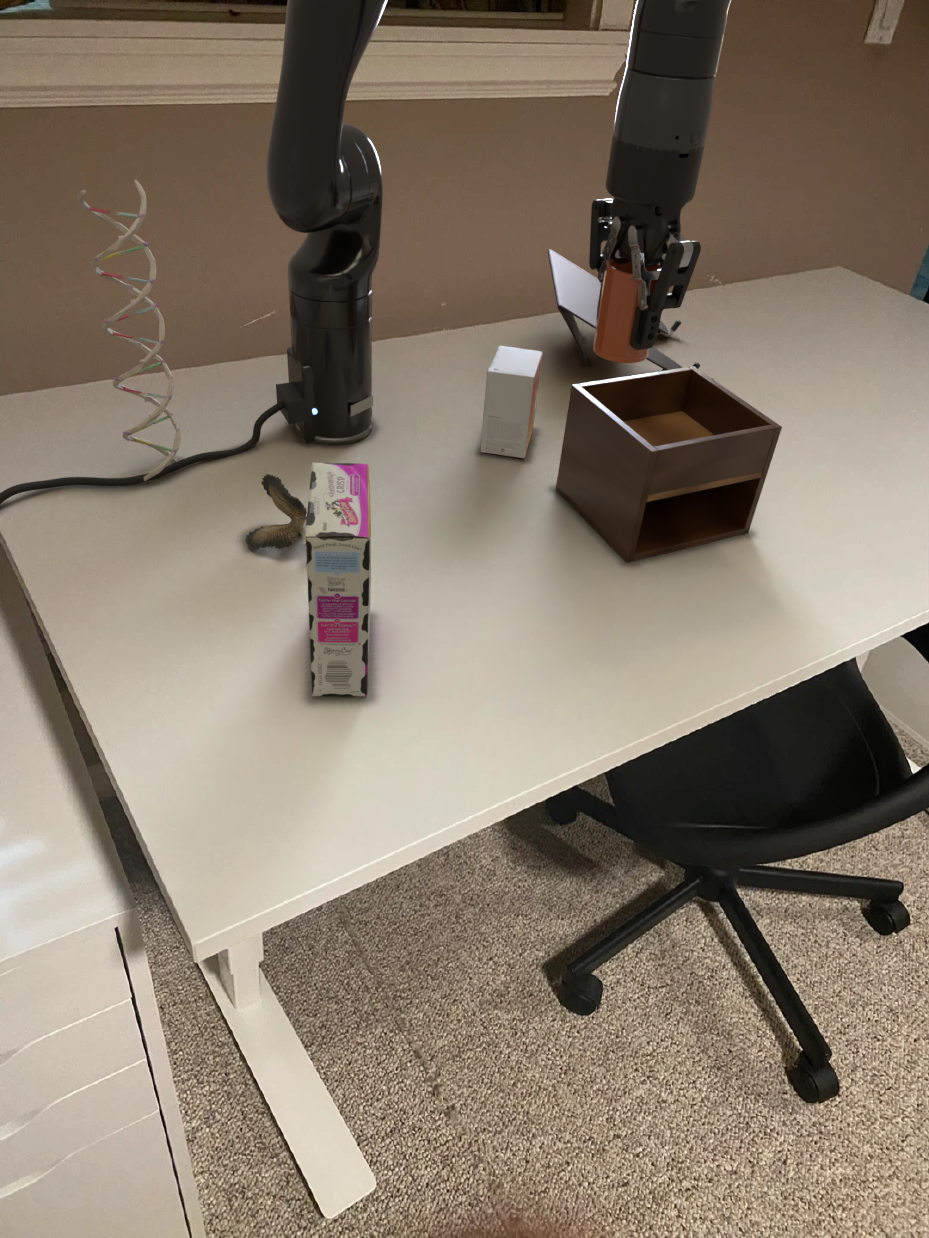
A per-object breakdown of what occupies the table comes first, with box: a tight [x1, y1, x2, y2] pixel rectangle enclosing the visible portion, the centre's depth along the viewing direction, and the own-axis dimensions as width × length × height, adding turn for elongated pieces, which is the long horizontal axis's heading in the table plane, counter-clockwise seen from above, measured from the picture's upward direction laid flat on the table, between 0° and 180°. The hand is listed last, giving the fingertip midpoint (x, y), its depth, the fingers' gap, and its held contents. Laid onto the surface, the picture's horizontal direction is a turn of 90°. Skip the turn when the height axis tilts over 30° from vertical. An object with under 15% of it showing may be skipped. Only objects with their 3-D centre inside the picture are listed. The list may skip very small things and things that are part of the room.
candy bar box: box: [305, 462, 372, 699], centre depth 75 cm, size 11×5×16 cm, turn 5°
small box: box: [480, 345, 544, 459], centre depth 109 cm, size 8×6×10 cm
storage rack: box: [555, 365, 783, 563], centre depth 98 cm, size 16×15×13 cm
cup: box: [593, 260, 660, 364], centre depth 84 cm, size 5×5×8 cm
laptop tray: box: [547, 248, 701, 371], centre depth 134 cm, size 23×23×9 cm
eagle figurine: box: [245, 473, 307, 550], centre depth 91 cm, size 8×7×9 cm
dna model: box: [76, 179, 182, 481], centre depth 92 cm, size 7×6×30 cm
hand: (624, 334), depth 85 cm, fingers closed on cup, 5 cm apart
